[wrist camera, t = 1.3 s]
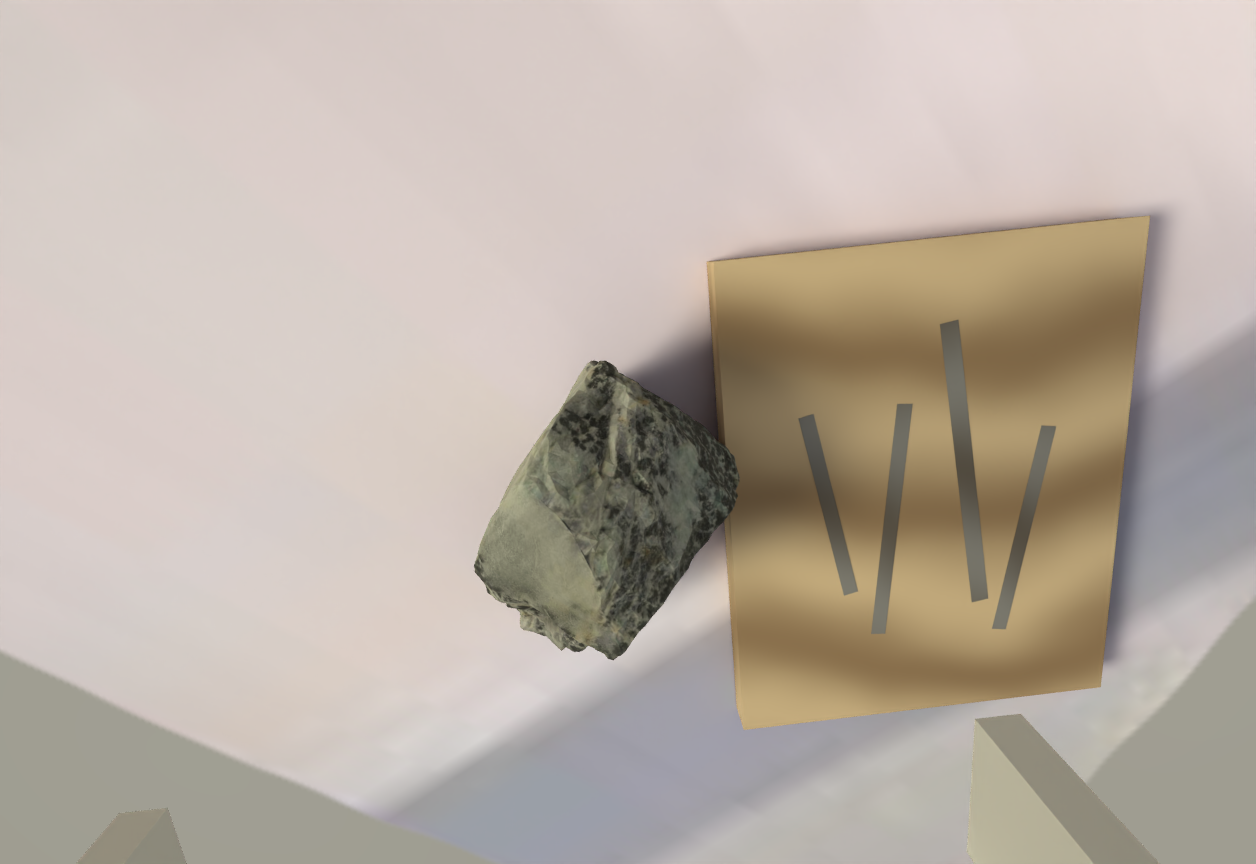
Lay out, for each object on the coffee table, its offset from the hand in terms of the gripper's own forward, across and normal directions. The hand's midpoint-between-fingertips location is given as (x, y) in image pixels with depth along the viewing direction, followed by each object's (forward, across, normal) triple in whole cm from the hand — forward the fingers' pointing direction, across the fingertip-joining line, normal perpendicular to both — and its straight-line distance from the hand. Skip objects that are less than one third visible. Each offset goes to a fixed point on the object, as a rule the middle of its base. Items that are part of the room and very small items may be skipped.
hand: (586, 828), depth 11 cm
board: (+17, +13, -1) cm, 21 cm away
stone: (+17, 0, 0) cm, 17 cm away
